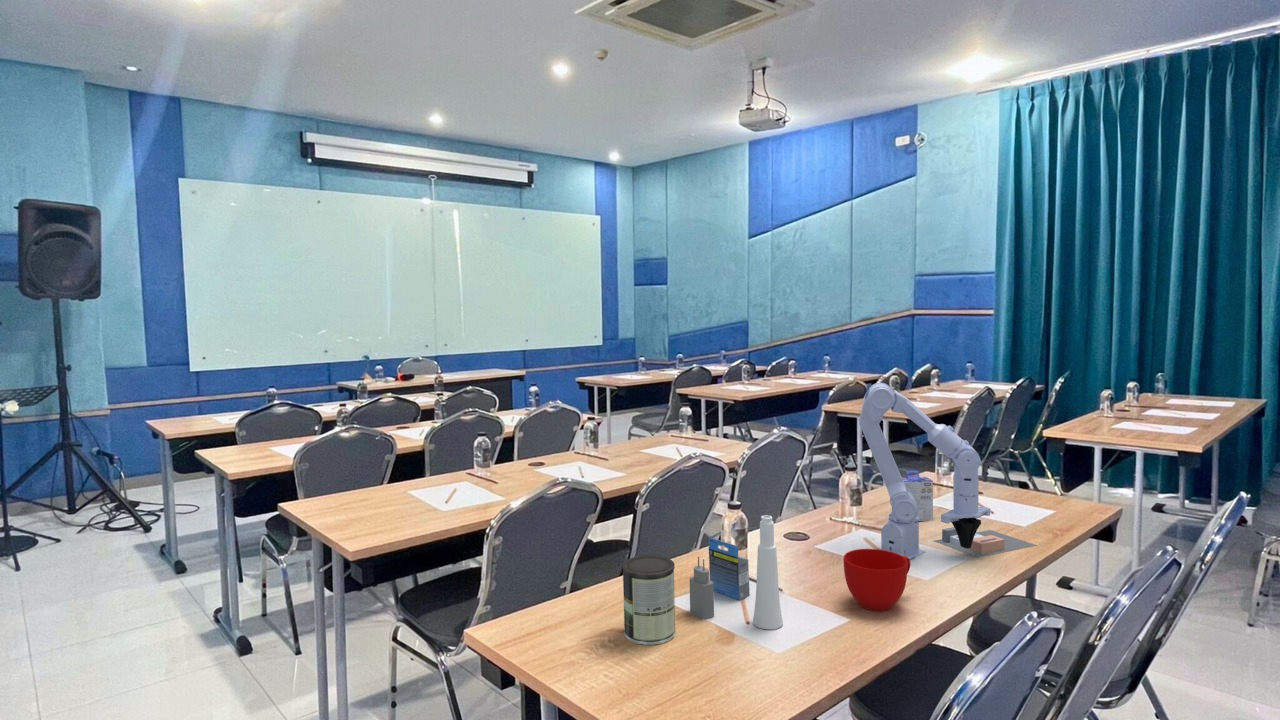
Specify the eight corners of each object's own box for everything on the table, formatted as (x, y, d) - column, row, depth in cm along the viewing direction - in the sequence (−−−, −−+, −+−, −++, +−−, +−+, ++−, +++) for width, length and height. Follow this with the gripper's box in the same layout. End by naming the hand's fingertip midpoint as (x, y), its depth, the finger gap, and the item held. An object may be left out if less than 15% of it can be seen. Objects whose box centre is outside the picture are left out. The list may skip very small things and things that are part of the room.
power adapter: (700, 607, 151) (699, 552, 150) (715, 616, 146) (714, 560, 145) (688, 610, 149) (687, 555, 148) (703, 620, 144) (702, 563, 143)
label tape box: (750, 595, 156) (749, 541, 155) (738, 601, 153) (738, 546, 152) (720, 585, 162) (719, 533, 162) (708, 590, 160) (707, 537, 159)
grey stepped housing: (964, 549, 181) (965, 537, 181) (942, 541, 188) (942, 529, 188) (993, 543, 185) (993, 531, 185) (969, 535, 192) (969, 524, 192)
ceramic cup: (933, 604, 149) (933, 558, 149) (877, 623, 141) (877, 574, 140) (885, 584, 161) (885, 541, 160) (830, 600, 152) (830, 555, 152)
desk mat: (977, 559, 175) (977, 557, 175) (933, 542, 188) (933, 540, 188) (1037, 546, 183) (1037, 545, 183) (990, 531, 196) (990, 529, 196)
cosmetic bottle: (775, 632, 138) (774, 522, 136) (747, 625, 141) (746, 518, 140) (787, 621, 143) (786, 515, 141) (760, 614, 146) (759, 510, 145)
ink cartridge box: (927, 516, 212) (927, 469, 211) (934, 521, 206) (934, 473, 205) (893, 517, 212) (894, 469, 211) (900, 522, 206) (900, 473, 205)
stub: (981, 554, 177) (981, 543, 177) (968, 549, 181) (968, 539, 181) (1004, 549, 181) (1004, 539, 180) (991, 544, 184) (991, 534, 184)
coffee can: (613, 636, 138) (611, 566, 137) (645, 617, 146) (644, 551, 145) (654, 651, 132) (652, 577, 131) (686, 631, 140) (684, 561, 139)
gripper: (956, 501, 169) (956, 556, 170) (1000, 493, 175) (1000, 547, 176) (934, 494, 176) (934, 547, 176) (977, 487, 181) (976, 539, 182)
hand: (965, 547), depth 176 cm, fingers closed
